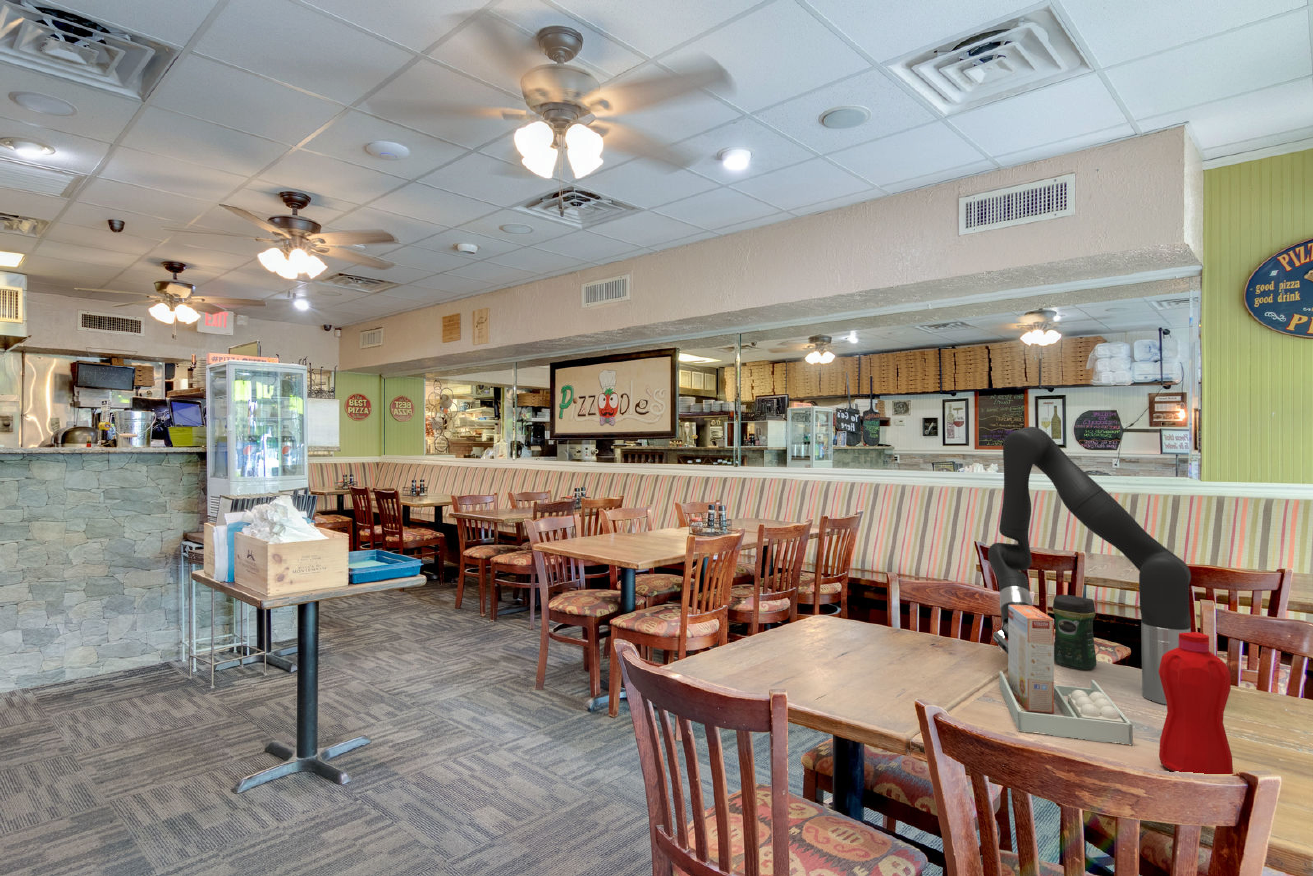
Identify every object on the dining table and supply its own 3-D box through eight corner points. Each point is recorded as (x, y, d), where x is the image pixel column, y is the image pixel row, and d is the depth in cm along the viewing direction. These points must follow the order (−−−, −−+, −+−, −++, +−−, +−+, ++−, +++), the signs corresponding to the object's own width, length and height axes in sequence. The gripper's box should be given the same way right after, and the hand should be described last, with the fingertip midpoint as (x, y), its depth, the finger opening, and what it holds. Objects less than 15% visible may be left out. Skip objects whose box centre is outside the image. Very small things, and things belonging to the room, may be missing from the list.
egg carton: (1104, 718, 150) (1104, 689, 150) (1124, 744, 136) (1123, 712, 137) (1068, 714, 152) (1067, 685, 152) (1083, 739, 139) (1082, 707, 139)
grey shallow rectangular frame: (1094, 697, 162) (1094, 680, 162) (1132, 745, 135) (1132, 725, 135) (999, 687, 168) (999, 671, 168) (1018, 731, 142) (1018, 712, 142)
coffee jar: (1101, 667, 184) (1100, 597, 184) (1087, 673, 179) (1086, 601, 180) (1062, 658, 192) (1062, 591, 192) (1048, 663, 187) (1047, 594, 188)
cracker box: (1056, 714, 151) (1055, 618, 151) (1026, 712, 152) (1025, 617, 153) (1034, 692, 165) (1034, 604, 165) (1007, 690, 166) (1006, 603, 166)
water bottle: (1186, 756, 131) (1184, 623, 131) (1243, 783, 120) (1241, 638, 120) (1142, 759, 129) (1141, 625, 130) (1196, 787, 118) (1194, 640, 119)
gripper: (989, 598, 177) (995, 660, 165) (1047, 602, 173) (1058, 666, 161) (987, 614, 182) (993, 675, 170) (1043, 618, 178) (1054, 681, 166)
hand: (1025, 670), depth 166 cm, fingers closed
